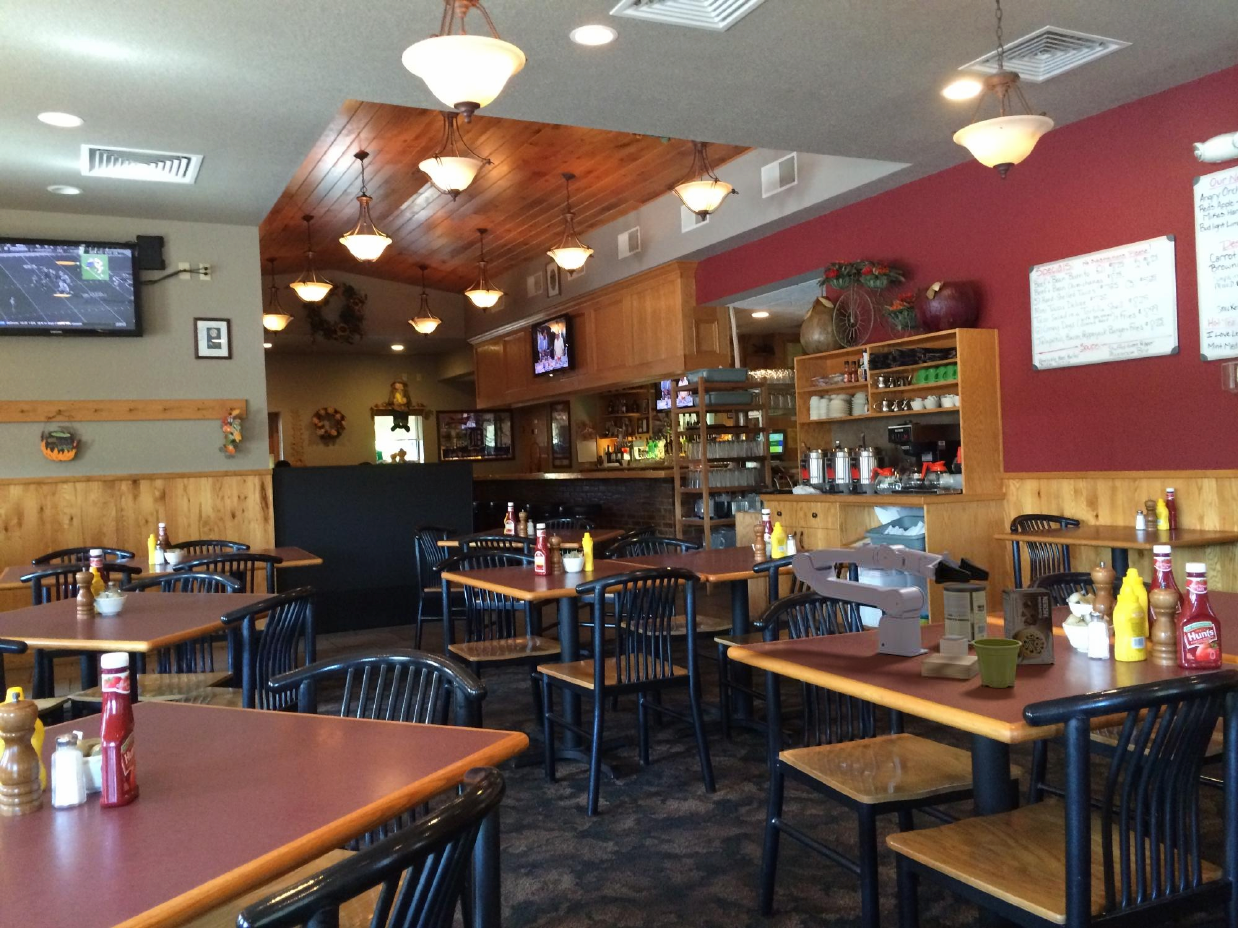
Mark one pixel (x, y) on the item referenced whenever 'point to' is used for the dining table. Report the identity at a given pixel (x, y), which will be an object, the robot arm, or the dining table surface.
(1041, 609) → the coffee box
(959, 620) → the coffee can
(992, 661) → the plant pot
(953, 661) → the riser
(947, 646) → the white rectangular block
